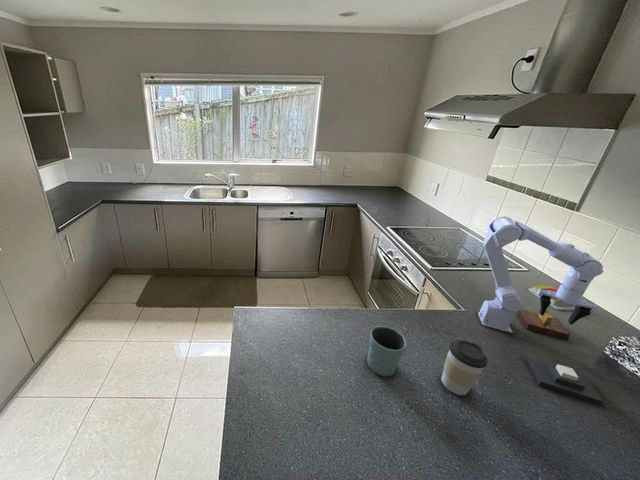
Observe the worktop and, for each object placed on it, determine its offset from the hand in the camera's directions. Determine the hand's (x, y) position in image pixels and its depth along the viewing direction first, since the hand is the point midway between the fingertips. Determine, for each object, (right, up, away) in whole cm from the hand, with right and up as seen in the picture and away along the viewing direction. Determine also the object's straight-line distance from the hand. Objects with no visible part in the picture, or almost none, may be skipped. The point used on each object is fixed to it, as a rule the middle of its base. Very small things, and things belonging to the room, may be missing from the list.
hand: (555, 318), depth 102 cm
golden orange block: (+4, -4, +8) cm, 10 cm away
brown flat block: (+4, -6, +9) cm, 12 cm away
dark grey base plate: (-14, -15, -14) cm, 25 cm away
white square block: (-14, -12, -15) cm, 24 cm away
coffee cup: (-49, -15, -16) cm, 54 cm away
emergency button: (+25, 0, +25) cm, 36 cm away
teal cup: (-69, -12, -11) cm, 71 cm away
